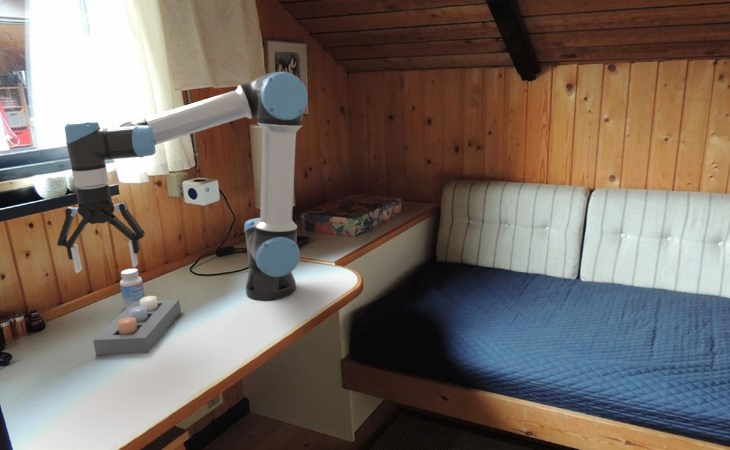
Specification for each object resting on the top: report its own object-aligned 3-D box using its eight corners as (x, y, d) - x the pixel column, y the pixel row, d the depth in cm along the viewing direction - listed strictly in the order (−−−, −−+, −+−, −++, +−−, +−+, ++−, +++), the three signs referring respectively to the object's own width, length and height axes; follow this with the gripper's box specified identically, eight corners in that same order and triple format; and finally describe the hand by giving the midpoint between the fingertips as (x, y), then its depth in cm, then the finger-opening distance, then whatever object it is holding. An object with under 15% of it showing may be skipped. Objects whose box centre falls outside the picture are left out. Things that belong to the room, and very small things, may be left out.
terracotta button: (141, 331, 147) (138, 316, 146) (133, 339, 143) (131, 324, 142) (124, 331, 147) (121, 317, 146) (116, 339, 143) (113, 325, 142)
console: (181, 312, 164) (179, 299, 163) (148, 352, 141) (145, 337, 139) (136, 314, 164) (133, 301, 163) (96, 354, 141) (93, 340, 140)
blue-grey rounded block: (151, 319, 154) (149, 305, 153) (145, 326, 149) (142, 312, 148) (135, 320, 154) (132, 306, 153) (128, 327, 150) (125, 313, 149)
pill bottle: (139, 311, 166) (132, 274, 163) (120, 310, 167) (113, 274, 164) (150, 303, 172) (144, 267, 169) (132, 302, 173) (126, 267, 170)
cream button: (161, 308, 160) (159, 295, 159) (155, 315, 156) (153, 301, 155) (145, 309, 161) (143, 296, 160) (139, 316, 156) (136, 302, 155)
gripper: (148, 179, 145) (161, 258, 150) (43, 187, 141) (60, 268, 147) (142, 184, 138) (155, 267, 143) (31, 193, 134) (49, 278, 140)
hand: (107, 268), depth 145 cm, fingers open, 13 cm apart
